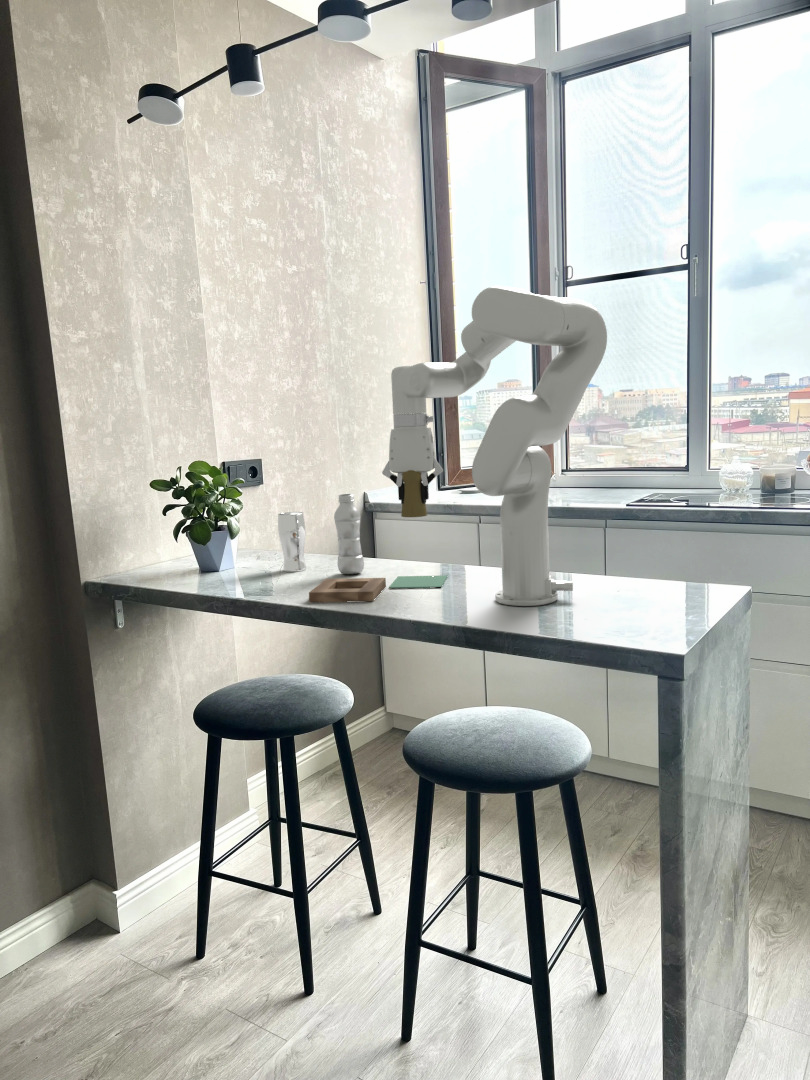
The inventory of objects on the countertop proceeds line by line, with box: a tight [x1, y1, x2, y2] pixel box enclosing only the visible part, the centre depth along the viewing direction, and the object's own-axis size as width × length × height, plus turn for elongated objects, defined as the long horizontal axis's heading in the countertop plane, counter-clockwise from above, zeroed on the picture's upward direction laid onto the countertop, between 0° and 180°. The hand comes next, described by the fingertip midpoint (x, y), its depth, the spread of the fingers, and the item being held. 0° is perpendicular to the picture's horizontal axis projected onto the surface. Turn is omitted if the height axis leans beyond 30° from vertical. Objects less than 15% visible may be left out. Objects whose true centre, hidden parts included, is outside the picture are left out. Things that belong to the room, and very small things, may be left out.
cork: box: [400, 470, 428, 518], centre depth 180 cm, size 6×6×11 cm
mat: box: [388, 574, 448, 589], centre depth 183 cm, size 12×12×1 cm
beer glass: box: [277, 511, 307, 573], centre depth 206 cm, size 7×7×15 cm
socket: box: [308, 577, 387, 603], centre depth 174 cm, size 14×14×2 cm
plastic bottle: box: [333, 493, 365, 575], centre depth 196 cm, size 6×7×20 cm
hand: (413, 502), depth 180 cm, fingers closed on cork, 4 cm apart
